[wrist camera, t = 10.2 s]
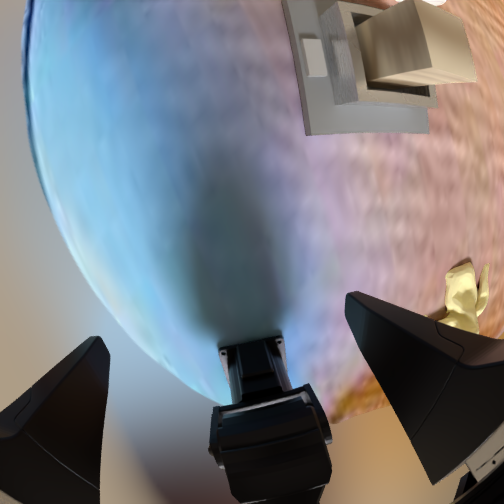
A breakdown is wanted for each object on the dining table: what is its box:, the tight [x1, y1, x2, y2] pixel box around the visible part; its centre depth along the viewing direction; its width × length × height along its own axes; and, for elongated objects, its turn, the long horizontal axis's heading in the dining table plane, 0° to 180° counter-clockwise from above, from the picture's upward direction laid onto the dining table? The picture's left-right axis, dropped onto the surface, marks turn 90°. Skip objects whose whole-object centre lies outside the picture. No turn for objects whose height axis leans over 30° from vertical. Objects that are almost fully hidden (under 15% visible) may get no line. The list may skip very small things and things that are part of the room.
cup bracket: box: [318, 1, 438, 109], centre depth 14 cm, size 8×8×4 cm
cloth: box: [424, 262, 490, 334], centre depth 29 cm, size 22×19×6 cm
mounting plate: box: [282, 0, 429, 136], centre depth 16 cm, size 12×12×2 cm
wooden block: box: [355, 0, 477, 89], centre depth 12 cm, size 4×4×9 cm
